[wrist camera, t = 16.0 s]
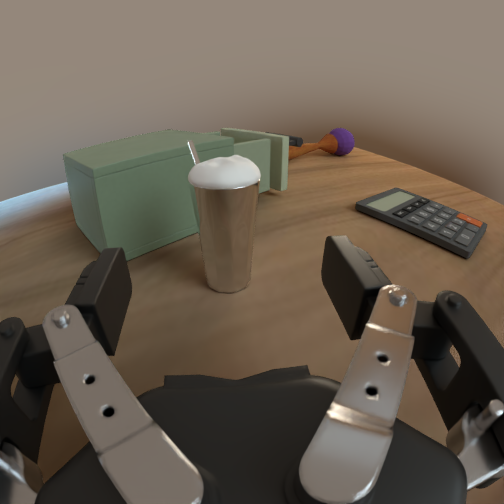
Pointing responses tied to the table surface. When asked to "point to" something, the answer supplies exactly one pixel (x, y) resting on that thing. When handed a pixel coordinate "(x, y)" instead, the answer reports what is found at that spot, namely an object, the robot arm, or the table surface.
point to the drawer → (264, 154)
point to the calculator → (426, 219)
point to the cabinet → (138, 188)
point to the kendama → (327, 144)
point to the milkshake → (225, 217)
